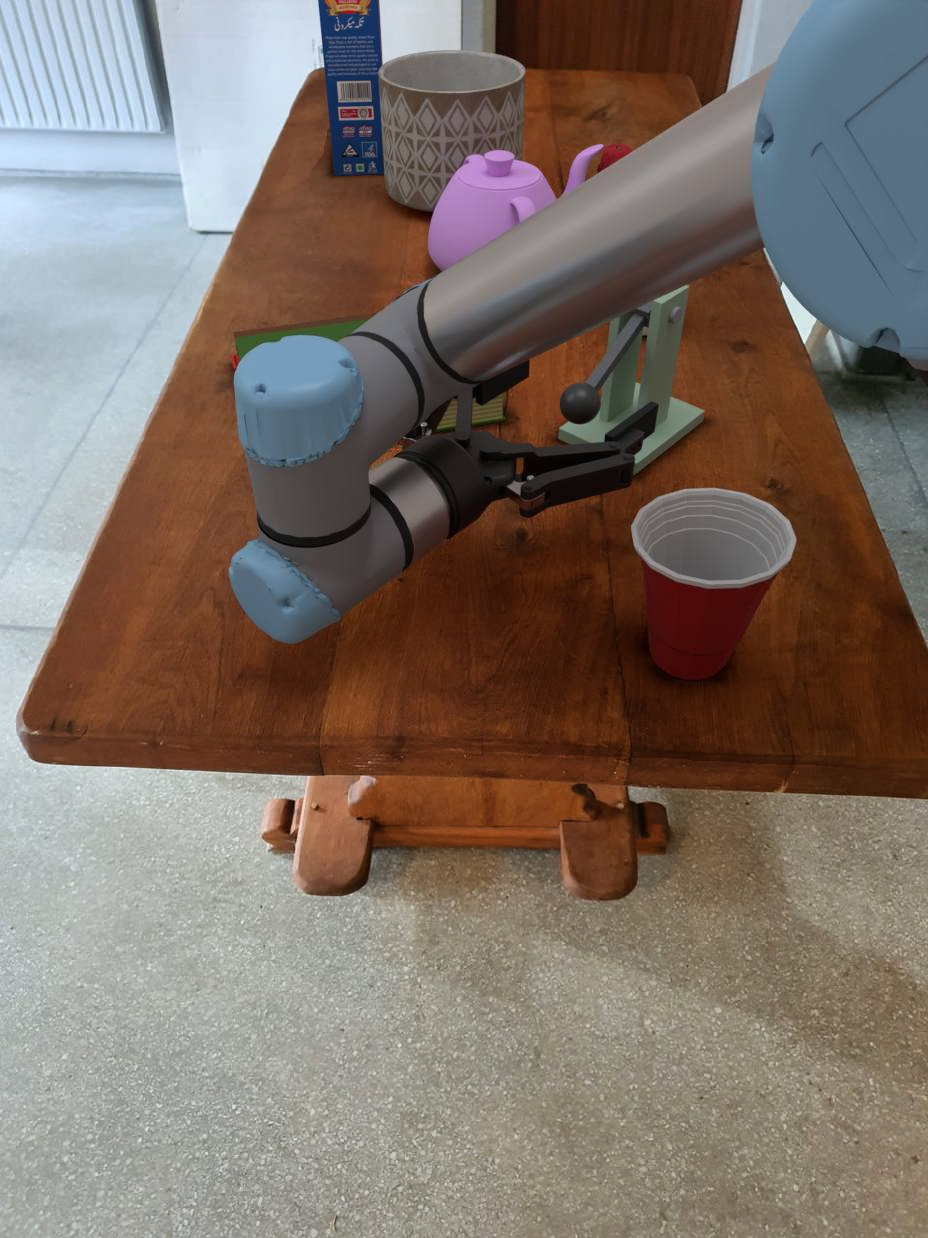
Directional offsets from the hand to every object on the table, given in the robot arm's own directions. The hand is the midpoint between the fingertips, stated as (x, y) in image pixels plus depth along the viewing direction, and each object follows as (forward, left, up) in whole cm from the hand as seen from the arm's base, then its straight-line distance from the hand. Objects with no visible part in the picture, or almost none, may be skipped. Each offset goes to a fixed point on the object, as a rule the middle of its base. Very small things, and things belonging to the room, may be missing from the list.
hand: (587, 388), depth 82 cm
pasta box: (+68, -64, -9) cm, 94 cm away
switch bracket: (-2, -9, -9) cm, 12 cm away
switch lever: (-1, -5, 0) cm, 5 cm away
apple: (+24, -66, -9) cm, 71 cm away
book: (+25, -2, -9) cm, 27 cm away
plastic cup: (-17, +17, -9) cm, 26 cm away
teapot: (+25, -36, -9) cm, 45 cm away
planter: (+43, -52, -9) cm, 68 cm away
